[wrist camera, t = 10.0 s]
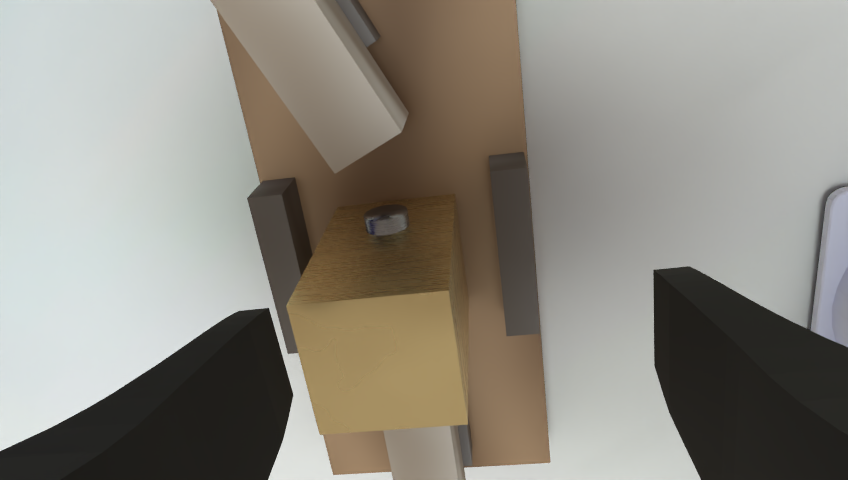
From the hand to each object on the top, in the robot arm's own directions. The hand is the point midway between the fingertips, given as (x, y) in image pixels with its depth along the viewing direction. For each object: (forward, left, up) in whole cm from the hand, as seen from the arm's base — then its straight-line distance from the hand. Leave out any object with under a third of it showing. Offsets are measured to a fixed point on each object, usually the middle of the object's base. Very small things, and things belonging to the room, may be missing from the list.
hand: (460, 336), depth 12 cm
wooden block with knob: (+2, +2, -8) cm, 8 cm away
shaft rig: (+2, +2, -9) cm, 10 cm away
